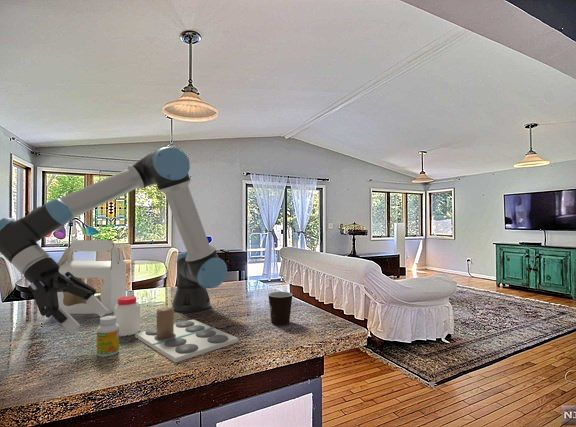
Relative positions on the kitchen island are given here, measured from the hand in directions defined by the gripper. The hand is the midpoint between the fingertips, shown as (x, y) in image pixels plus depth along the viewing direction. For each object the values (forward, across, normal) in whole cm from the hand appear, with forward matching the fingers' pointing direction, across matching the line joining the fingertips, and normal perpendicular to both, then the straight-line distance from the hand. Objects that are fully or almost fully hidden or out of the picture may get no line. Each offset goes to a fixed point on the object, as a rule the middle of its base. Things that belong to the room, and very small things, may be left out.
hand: (91, 321), depth 91 cm
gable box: (-12, -44, -25) cm, 52 cm away
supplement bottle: (+9, -1, -4) cm, 10 cm away
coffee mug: (+43, -29, +30) cm, 59 cm away
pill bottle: (+7, -18, -6) cm, 20 cm away
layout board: (+22, -11, +10) cm, 26 cm away
